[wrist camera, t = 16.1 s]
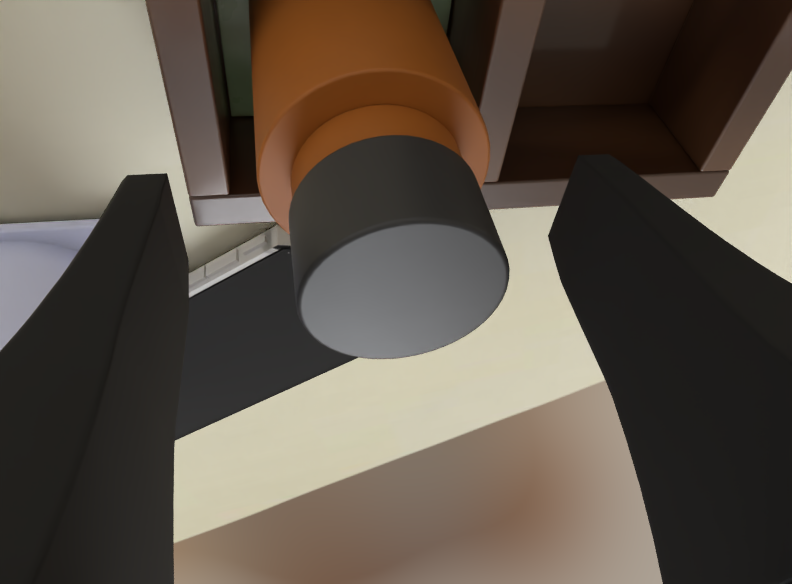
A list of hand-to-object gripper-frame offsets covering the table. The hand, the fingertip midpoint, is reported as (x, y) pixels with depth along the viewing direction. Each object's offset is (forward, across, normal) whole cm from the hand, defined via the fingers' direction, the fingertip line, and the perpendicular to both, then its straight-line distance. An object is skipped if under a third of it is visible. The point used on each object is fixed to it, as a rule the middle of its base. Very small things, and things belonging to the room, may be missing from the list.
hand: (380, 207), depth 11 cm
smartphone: (+8, +6, +15) cm, 18 cm away
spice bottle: (+7, 0, 0) cm, 7 cm away
